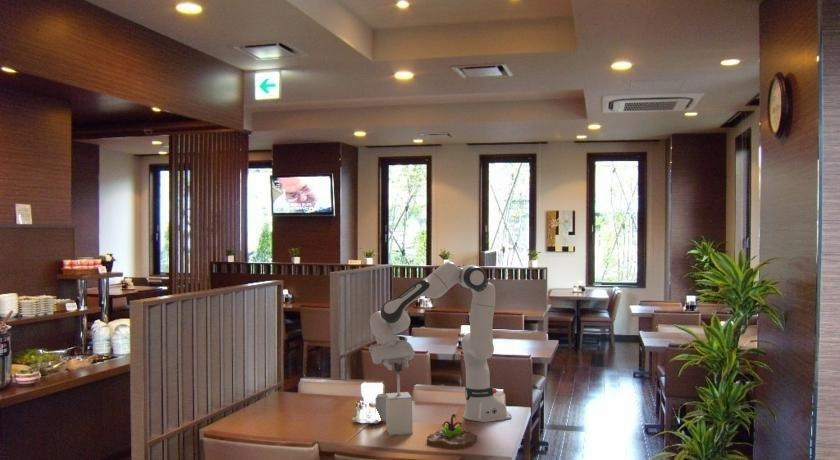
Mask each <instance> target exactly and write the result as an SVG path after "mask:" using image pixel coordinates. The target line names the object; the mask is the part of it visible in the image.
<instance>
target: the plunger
mask: <svg viewBox="0 0 840 460" xmlns="http://www.w3.org/2000/svg"><path fill="white" fill-rule="evenodd" d="M393 363H394V364H393V371H395V372H396V391H397V392H396V393H397V396H400V392H401V377H400V375H401V373H400V372H401V371H403V362H393Z"/></svg>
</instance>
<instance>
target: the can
mask: <svg viewBox="0 0 840 460" xmlns="http://www.w3.org/2000/svg"><path fill="white" fill-rule="evenodd" d="M376 409H377V411H378V413H379V415H380V418H381V421H383V422H382V423H386V393H378V394H376V397H375V410H376Z"/></svg>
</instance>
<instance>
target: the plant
mask: <svg viewBox="0 0 840 460" xmlns="http://www.w3.org/2000/svg"><path fill="white" fill-rule="evenodd" d="M456 417H457V414H455V413H452V415H451V417H450V422H449V420H448V421H447V420H446V421H444V422H443V423H442V424H441V428H439V430H437V431H435V432H434V433H430V434H429V435H428V436H427V439H426V444H427V445H429V446H431V447H438V448H446V449H452V450H460V449H466V448H467V447H472V446H474V444H475V443H476V442H477V440H478V434H476V433H475V432H472V431H470V430H469V431H468V430H464V429H463V426H464V424H463V422H461V421H457V422H455V423H454V418H456ZM446 423H447V424H446ZM458 424H459V425H458ZM455 426H456V427H455ZM442 427H443V428H442ZM461 428H462V429H461Z"/></svg>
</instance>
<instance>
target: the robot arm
mask: <svg viewBox="0 0 840 460" xmlns="http://www.w3.org/2000/svg"><path fill="white" fill-rule="evenodd" d="M456 284H457V285H459V286H460V287H463V288H464V289H465V288H466V289H469V290H471V293H472V299H471V305H470V311H469V319H468V322H469V332H468V333H466V334H464V336H463V337H462V338H461V341H460V342H461V347H462V354H463V360H464V365H465V385H466V386H465V387H464V389H465V390H464V398H465V407H464V413H463V416H462V417H463V418H464V419H465V420H468V421H474V422H480V423H488V422H495V421H503V420H509V419H512V414H511V413H510V412H509V411H508V410H507V406H506V404H505V402H504V401H503V400H502V399H501V398H499V397H497V395H495V394H497V392H498V390H497V389H496V388H494V387H492V386H490V384H491V383H490V368H489V364H488V359H490V358H491V357H492V356H493V354H494V351H495V348H494V347H495V346H494V335H493V333H494V331H493V323H494V315H495V307H496V287H495V285H494V284H493V283H491V282H489V281H488V279H487V274H486V271H484V269H483V268H482V267H481V266H478V265H474V264H462V265H459V266H458V264H456V263H455V262H453V261H446V262H445V263H443V264H442V265H439V266H438V267H437V268H436V269H435V270H434V271H432V272H431V273H430V274H429V275H428V276H426V277H425V278H423V279H420V280H418V281H416V282H415V283H413V284H412V285H410V286H409V287H408V288H406V289H405V290H404V291H402V292H401V293H400V294H398V295H397V296H395V297H393V298H391V299H389V300H387V301H386V302H385V303H383V304H382V306H381V309H380V310H378V311H376V312H374V313H372V314H371V316H370V318H369V325H370V329H371V332H372V335H373V336H374V338H375V341H376V344H370V345H369V346H368V351H369V353H370V356H371V361H372V363H373V364H375V365H381V364H383V365H384V367H385V368H387V370H388V371H392V370H394V366H393V364H390V363H397V362H402V361H403V363H404V364H402V367H404V369H409V366H410V365H409V361H411V360H414V359H413V358H414V357H415V355H416V352H415V349H414V348H413V345H412V344H411V343H410V342H409V341H408V337H407V336H402V335H398V334H401V333H403V332H405V331H406V330H408V329H409V327H410V325H411V322H412V321H411V317H410V315H409V314H408V313H407V311H406V310H405V309H406V308H407V307H408V306H409V305H411V303H413V302H415V301H416V300H417V299H419V298H421V297H426V298H429V299H438V298H441V297H443V296H444V295H445V294H446V293H447V292H448V291H449V290H450V289H451V288H452V287H453V286H455V285H456Z"/></svg>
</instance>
